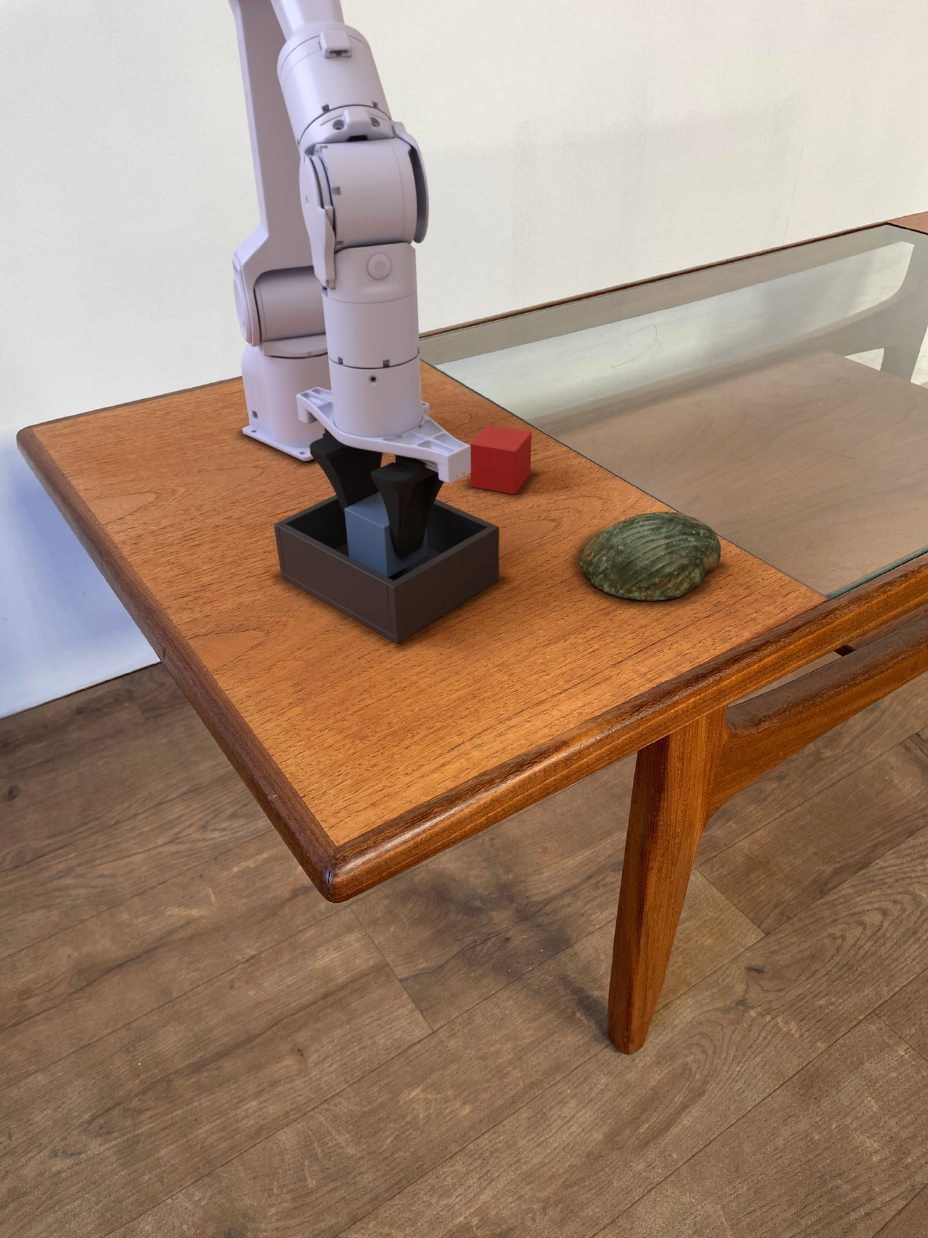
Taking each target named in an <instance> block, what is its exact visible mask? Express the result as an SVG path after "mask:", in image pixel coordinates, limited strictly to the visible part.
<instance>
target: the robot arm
mask: <svg viewBox="0 0 928 1238" xmlns="http://www.w3.org/2000/svg"><path fill="white" fill-rule="evenodd" d="M227 1H228V4H229V7H230V10H231V12H232V15H233V19H234V26H235V31H236V40H237V47H238V48H237V50H238V55H239V63H240V71H241V72H240V73H241V79H242V87H243V88H242V89H243V92H244V93H243V95H244V101H245V102H244V104H245V109H246V111H245V112H246V118H247V127H248V133H249V140H250V150H251V157H252V165H253V172H254V173H253V174H254V180H255V181H254V182H255V188H256V196H257V203H258V205H257V206H258V212H259V218H260V223H259V225H258V226H257V227H256V228H255V229H254V230H253V231H252V232H251V233H250V234H249V235H248V236H247V237H246V238H245V239H244V240H243V241H242V242H241V243H239V244H238V246H237V247H236V248H235V249H234V251H233V257H232V258H231V264H232V271H233V279H232V284H233V285H232V286H233V296H234V302H235V308H236V315H237V319H238V323H239V327H240V331H241V334H242V337H243V339H244V341H245V342H246V343H247V344H246V346H245V347H244V350H243V352H242V353H243V354H242V357H241V363H240V369H241V376H242V384H243V390H244V396H245V397H244V398H245V403H246V410H247V416H248V423H249V424H248V425H246V426H244V427H242V429H241V430H242V434H244V435H246V436H248V437H250V438H252V439H255V440H257V441H259V442H261V443H264V444H266V445H268V446H270V447H272V448H274V449H276V450H279V451H281V452H283V453H285V454H287V455H290V456H292V457H294V458H297V459H298V460H301V461H303V462H309V461H312V460H314V461H315V462H316V463H317V464H318V465H319V467H320V469H321V470H322V471H323V473H324V475H325V476H326V478H327V480H328V481H329V483H330V485H331V487H332V489H333V491H334V493H335V495H337V498H338V500H339V502H340V505H341V507H342V510H343V513H344V515H345V508H347V507H349V506H351V505H353V504H355V503H357V502H359V501H361V500H363V499H365V498H367V497H370V496H372V495H374V494H376V493H378V492H380V494H381V496H382V498H383V501H384V504H385V507H386V511H387V515H388V520H389V528H390V536H391V541H392V545H393V548H394V551H395V554H396V556H398V557H400V558H405V557H407V556H408V555H410V554H412V553H414V552H416V551H417V550H419V549H421V548H422V545H423V541H424V536H425V532H426V528H427V524H428V520H429V516H430V513H431V510H432V507H433V504H434V502H435V499H437V497H438V495H439V493H440V490H441V488H442V487H443V485H444V483H447V484H452V483H454V482H456V481H459V480H461V479H463V478H465V477H466V476H468V475H471V446H470V444H468V443H465V442H463V441H461V440H460V439H457V438H456V437H455V436H453V435H452V434H451V433H449V432H448V431H447V430H446V429H444V428H443V427H442V426H440V424H438V423H437V422H436V421H435V420H434V419H432V418H431V417H430V416H429V415H431V414H430V413H431V411H430V409H431V408H430V403H428V402H427V401H425V400H422V380H421V379H422V378H421V353H420V352H421V351H420V329H419V325H420V324H419V304H418V303H419V302H418V277H417V275H418V274H417V253H416V252H417V250H416V248H415V247H414V246H412V243H413V242H414V243H416V244H421V243H423V241H424V240H425V238H426V236H427V233H428V227H429V218H430V195H429V184H428V178H427V172H426V167H425V163H424V160H423V155H422V152H421V149H420V146H419V144H418V141H417V140H416V138H415V137H414V136H413V135H412V134H410V133H408V132H407V130H406V127H405V124H404V123H403V122H402V121H395V120H393V116H392V114H391V111H390V107H389V104H388V101H387V98H386V94H385V90H384V88H383V84H382V81H381V78H380V74H379V71H378V68H377V65H376V61H375V58H374V55H373V52H372V48H371V45H370V43H369V42H368V40H367V38H366V37H365V36H364V35H363V34H362V33H361V32H360V31H359V30H358V29H357V28H354V27H353V26H351V25H348V24H345V20H344V13H343V9H342V8H343V7H342V4H341V0H227ZM384 454H390V455H394V461H395V462H394V461H391V462H389V463H387V464H385V465H383V466H382V461H383V456H384Z"/></svg>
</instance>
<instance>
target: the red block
mask: <svg viewBox="0 0 928 1238" xmlns="http://www.w3.org/2000/svg"><path fill="white" fill-rule="evenodd" d="M532 436H533V435H532V431H528V430H523V429H522V430H521V429H516V428H515V429H514V428H509V427H503V426H496V425H490V424H487V425H486V426H485V427H484V428H483V429H482V430H481V432H480V433H479V434H478V435H476V437H474V439H473V440H472V441H471V442H470V444H469V445H470V446H471V473H470V487H471V488H476V489H482V490H485V491H486V490H487V491H493V492H496V493H497V492H498V493H504V494H509V495H516V493H517V492H518V491H519V490H520V488H521V487H522V486H523V485H524V484H525V482H526V481H527V479H528V478H530V475H531V470H532V469H531V467H532V466H531V465H532V464H531V463H532V461H531V460H532V438H533V437H532Z"/></svg>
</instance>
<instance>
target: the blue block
mask: <svg viewBox="0 0 928 1238" xmlns="http://www.w3.org/2000/svg"><path fill="white" fill-rule="evenodd" d="M345 519H346V529H347V540H348V550H349V557H350V558H351V559H353V560H355V561H357V562H359V563H361V564H363V565H365V566H367V567H369V568H371V569H372V570H374V571H376V572H378V573H380V574H382V575H384V576H386V577H390V576H391V575H393V574H395V573H397V572H399V571H400V570H402V569H404V568H406V567H407V566H409V565H411V564H413V563H414V562H416V561H418V560H420V559H422V558H423V557H425V556H427V555H428V549H427V528H426V532H425V536H424V541H423V545H422V548H421V549H419V550H417V551H416V552H414V553H412V554H410V555H408V556H407V557H405V558H400V557H398V556H396V554H395V551H394V548H393V545H392V541H391V536H390V528H389V520H388V515H387V511H386V507H385V504H384V501H383V498H382V496H381V494H380V492H378V493H376V494H374V495H372V496H370V497H367V498H365V499H363V500H361V501H359V502H357V503H355V504H353V505H351V506H349V507H347V508H345Z"/></svg>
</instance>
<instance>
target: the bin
mask: <svg viewBox="0 0 928 1238" xmlns="http://www.w3.org/2000/svg"><path fill="white" fill-rule="evenodd" d="M273 526H274V527H273V529H274V536H275V543H276V550H277V556H278V562H279V563H278V565H279V570H280V577H281V578H282V579H283V580H285V581H287V582H288V583H291V584H292V585H294V586H296V587H297V588H299V589H301V590H302V591H304V592H306V593H308V594H309V595H311V596H313V597H315V598H317V599H318V600H320V601H322V602H323V603H325V604H327V605H329V606H331V607H332V608H334V609H336V610H337V611H339V612H341V613H343V614H345V615H346V616H348V617H349V618H352V619H353V620H355V621H357V622H359V623H360V624H362V625H363V626H365V627H367V628H369V629H371V630H372V631H374V632H376V633H377V634H379V635H381V636H383V637H384V638H386V639H388V640H390V641H391V642H393V643H395V644H396V645H398V644H400V643H402V642H404V641H405V640H407V639H408V638H410V637H411V636H412V635H414V634H416V633H418V632H419V631H421V630H423V629H424V628H426V627H427V626H429V625H430V624H432V623H434V622H436V621H437V620H438V619H440V618H442V617H443V616H445V615H447V614H448V613H449V612H451V611H453V610H455V609H456V608H458V607H459V606H461V605H462V604H464V603H466V602H467V601H469V600H471V599H472V598H474V597H476V596H477V595H478V594H481V592H483V591H485V590H486V589H488V588H489V587H492V585H494V584H496V583H497V582H499V580H500V579H499V578H500V576H499V575H500V568H499V567H500V526H498V525H495V524H493V523H491V522H489V521H488V520H487V521H486V520H485V519H482V518H481V517H478V516H475V515H473V514H471V513H469V512H466V511H464V510H462V509H460V508H457V507H455V506H453V505H450V504H448V503H447V502H444V501H442V500H439V499H437V498H436V499H435V502H434V504H433V507H432V510H431V513H430V516H429V520H428V524H427V549H428V555H427V556H425V557H423V558H422V559H420V560H418V561H416V562H414V563H413V564H411V565H409V566H407V567H406V568H404V569H402V570H400V571H399V572H397V573H395V574H393V575H391V576H390V577H386V576H384V575H382V574H380V573H378V572H376V571H374V570H372V569H371V568H369V567H367V566H365V565H363V564H361V563H359V562H357V561H355V560H353V559H351V558H350V557H349V550H348V540H347V529H346V519H345V515H344V513H343V510H342V507H341V505H340V502H339V500H338V498H337V495H336V494H334V495H332V496H330V497H328V498H326V499H324V500H322V501H319V502H317V503H315V504H313V505H311V506H309V507H307V508H304V509H302V510H300V511H298V512H296V513H293V514H292V515H290V516H288V517H286V518H283V519H281V520H279V521H277V522H275V523H274V524H273Z"/></svg>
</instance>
